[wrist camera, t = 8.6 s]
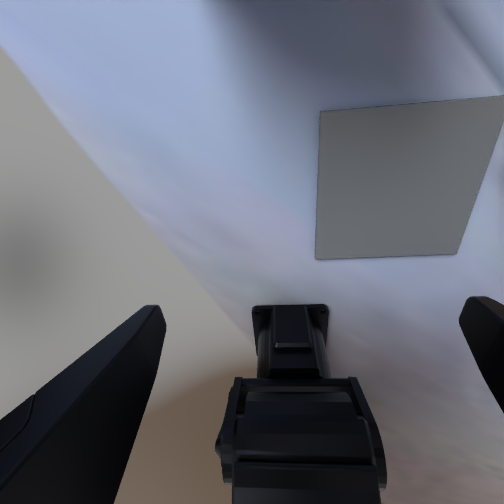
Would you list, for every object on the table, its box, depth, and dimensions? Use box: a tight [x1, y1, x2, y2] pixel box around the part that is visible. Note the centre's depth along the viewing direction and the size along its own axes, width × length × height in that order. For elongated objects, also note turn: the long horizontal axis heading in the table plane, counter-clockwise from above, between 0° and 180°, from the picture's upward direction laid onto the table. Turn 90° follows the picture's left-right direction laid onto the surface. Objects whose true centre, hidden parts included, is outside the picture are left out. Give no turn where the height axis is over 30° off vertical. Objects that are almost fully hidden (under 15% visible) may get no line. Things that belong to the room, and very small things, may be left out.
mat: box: [315, 95, 504, 259], centre depth 18 cm, size 10×10×1 cm
